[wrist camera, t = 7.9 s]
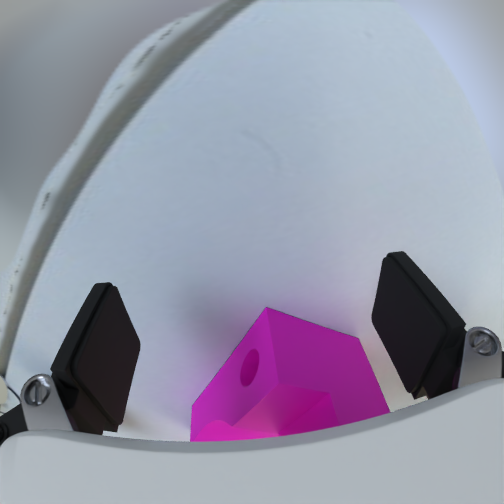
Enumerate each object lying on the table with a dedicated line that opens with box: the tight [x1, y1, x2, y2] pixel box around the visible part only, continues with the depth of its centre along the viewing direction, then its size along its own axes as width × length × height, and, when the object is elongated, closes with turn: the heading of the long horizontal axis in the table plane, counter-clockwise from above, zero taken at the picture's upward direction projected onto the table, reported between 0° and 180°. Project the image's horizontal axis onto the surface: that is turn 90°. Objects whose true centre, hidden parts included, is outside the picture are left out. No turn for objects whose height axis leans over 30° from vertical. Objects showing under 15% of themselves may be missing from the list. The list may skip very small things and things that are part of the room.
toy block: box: [190, 307, 390, 442], centre depth 14 cm, size 15×6×8 cm, turn 152°
